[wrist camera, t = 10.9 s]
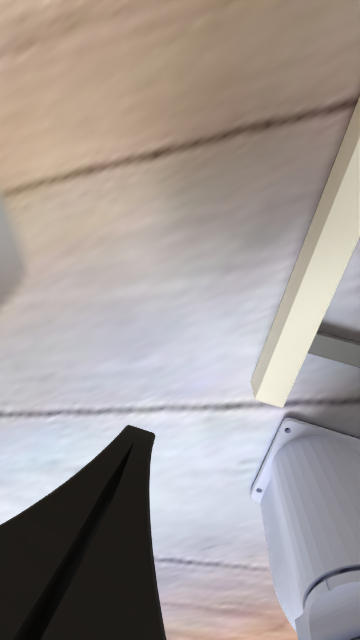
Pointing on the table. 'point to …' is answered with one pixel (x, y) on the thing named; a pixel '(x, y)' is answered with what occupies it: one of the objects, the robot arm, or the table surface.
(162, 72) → the table surface
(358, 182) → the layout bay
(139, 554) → the robot arm
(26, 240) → the table surface
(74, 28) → the table surface
